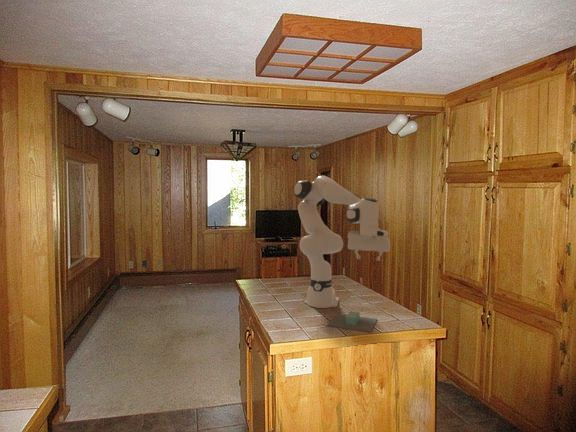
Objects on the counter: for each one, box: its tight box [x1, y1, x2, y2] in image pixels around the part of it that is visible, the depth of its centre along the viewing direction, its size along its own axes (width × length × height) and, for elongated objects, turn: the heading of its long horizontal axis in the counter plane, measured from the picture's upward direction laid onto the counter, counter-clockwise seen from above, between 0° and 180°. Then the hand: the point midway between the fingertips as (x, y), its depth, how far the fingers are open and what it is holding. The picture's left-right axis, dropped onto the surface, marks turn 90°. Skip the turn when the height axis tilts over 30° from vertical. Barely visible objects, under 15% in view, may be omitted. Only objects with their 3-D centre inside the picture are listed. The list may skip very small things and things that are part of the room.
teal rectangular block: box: [345, 311, 361, 325], centre depth 181 cm, size 4×9×4 cm, turn 157°
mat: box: [326, 313, 378, 333], centre depth 181 cm, size 18×20×1 cm
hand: (368, 259), depth 186 cm, fingers open, 8 cm apart
